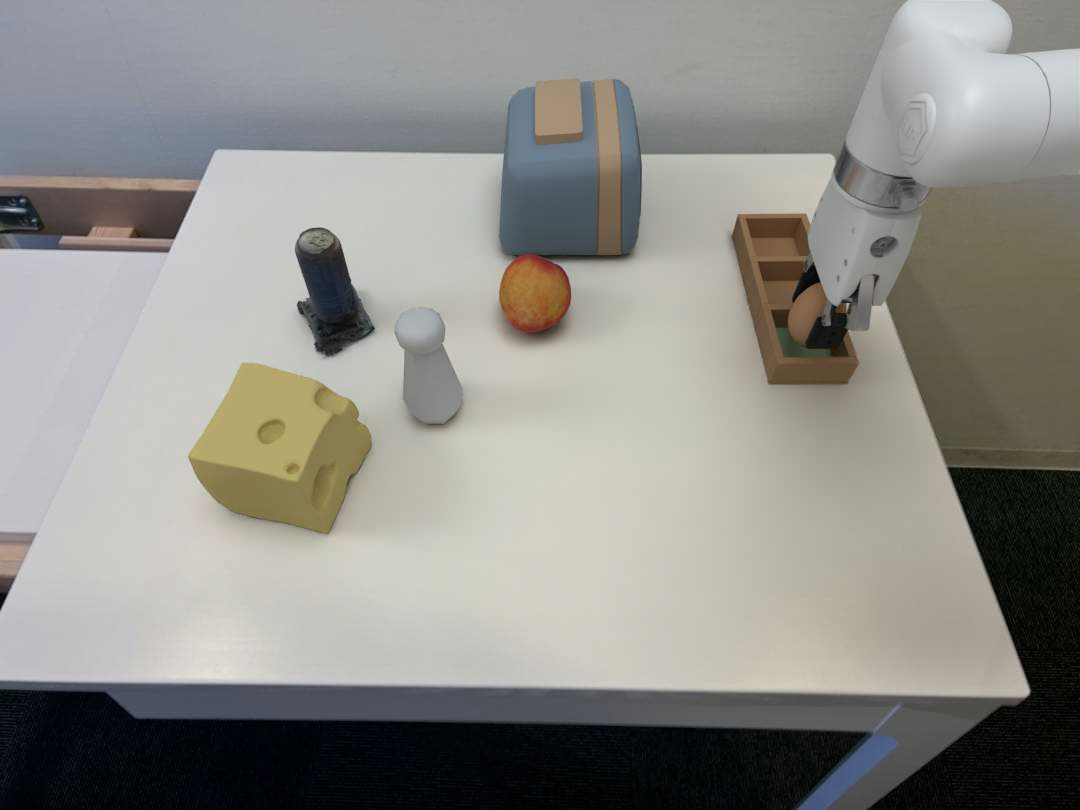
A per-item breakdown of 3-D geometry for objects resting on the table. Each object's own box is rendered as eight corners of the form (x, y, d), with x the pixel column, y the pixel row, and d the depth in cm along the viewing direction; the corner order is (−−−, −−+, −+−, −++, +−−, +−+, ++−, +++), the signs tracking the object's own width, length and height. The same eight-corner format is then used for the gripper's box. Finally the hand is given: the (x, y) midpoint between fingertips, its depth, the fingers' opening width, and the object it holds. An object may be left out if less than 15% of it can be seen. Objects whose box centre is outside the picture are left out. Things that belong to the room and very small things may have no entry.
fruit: (585, 312, 78) (589, 258, 71) (541, 357, 74) (541, 305, 67) (529, 282, 80) (528, 228, 74) (484, 324, 77) (479, 271, 70)
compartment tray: (847, 383, 72) (859, 363, 69) (768, 384, 72) (777, 363, 69) (797, 235, 85) (806, 213, 82) (731, 236, 85) (737, 213, 82)
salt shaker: (398, 425, 69) (372, 338, 58) (418, 380, 72) (397, 290, 61) (455, 437, 68) (439, 351, 57) (472, 391, 71) (460, 302, 61)
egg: (819, 320, 74) (845, 264, 68) (838, 357, 71) (868, 302, 65) (772, 326, 73) (794, 270, 67) (790, 363, 70) (815, 309, 64)
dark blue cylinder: (387, 328, 76) (365, 243, 67) (324, 362, 74) (291, 279, 64) (346, 282, 80) (319, 196, 71) (285, 312, 78) (248, 227, 68)
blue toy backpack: (637, 263, 82) (655, 143, 69) (499, 263, 82) (491, 143, 69) (627, 176, 92) (641, 57, 79) (503, 176, 92) (497, 57, 79)
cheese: (375, 443, 68) (352, 380, 59) (328, 543, 62) (296, 488, 53) (277, 421, 69) (241, 357, 61) (222, 516, 63) (175, 459, 55)
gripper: (973, 240, 50) (875, 391, 65) (899, 108, 60) (829, 265, 75) (869, 241, 50) (795, 392, 65) (813, 108, 60) (760, 265, 75)
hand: (814, 322), depth 70 cm, fingers closed on egg, 5 cm apart
